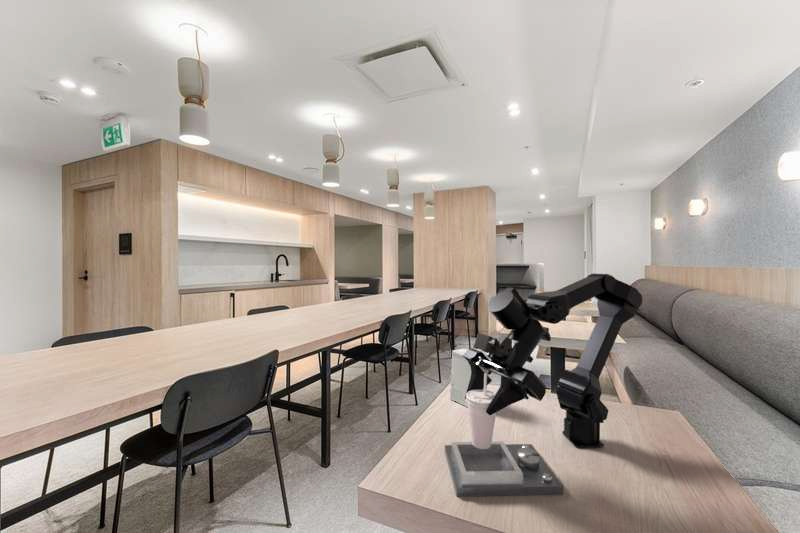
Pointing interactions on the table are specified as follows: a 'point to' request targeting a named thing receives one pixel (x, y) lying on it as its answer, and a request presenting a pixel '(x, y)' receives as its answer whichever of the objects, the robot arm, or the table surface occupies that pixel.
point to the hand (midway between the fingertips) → (476, 406)
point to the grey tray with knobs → (500, 470)
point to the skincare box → (459, 377)
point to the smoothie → (480, 416)
